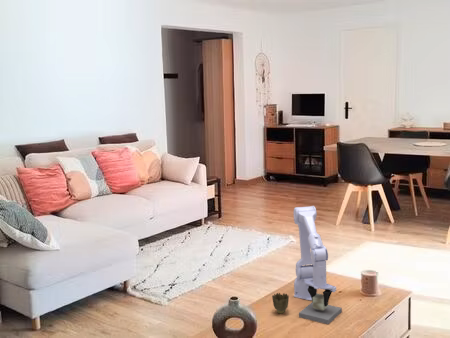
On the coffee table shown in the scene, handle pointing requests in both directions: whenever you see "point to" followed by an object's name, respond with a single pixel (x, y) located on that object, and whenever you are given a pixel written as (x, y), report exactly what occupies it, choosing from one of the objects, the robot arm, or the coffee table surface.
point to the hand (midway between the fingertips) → (320, 304)
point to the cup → (280, 302)
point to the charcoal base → (320, 313)
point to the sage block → (319, 302)
